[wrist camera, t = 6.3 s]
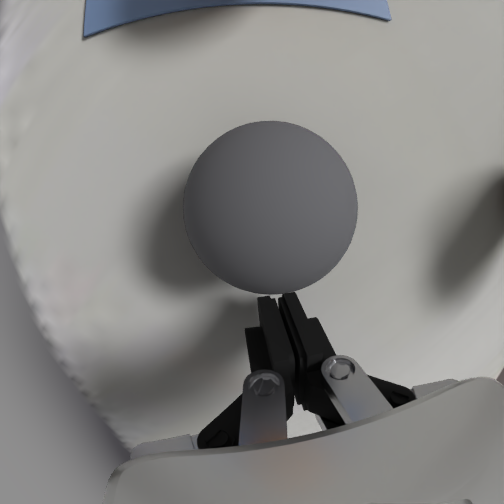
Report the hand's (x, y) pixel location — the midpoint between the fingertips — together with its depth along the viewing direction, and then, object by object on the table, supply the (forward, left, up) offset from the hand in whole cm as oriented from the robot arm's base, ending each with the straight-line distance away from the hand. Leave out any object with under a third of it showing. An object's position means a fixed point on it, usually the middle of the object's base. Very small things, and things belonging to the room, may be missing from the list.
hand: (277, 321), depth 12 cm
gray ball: (+5, +2, +1) cm, 6 cm away
